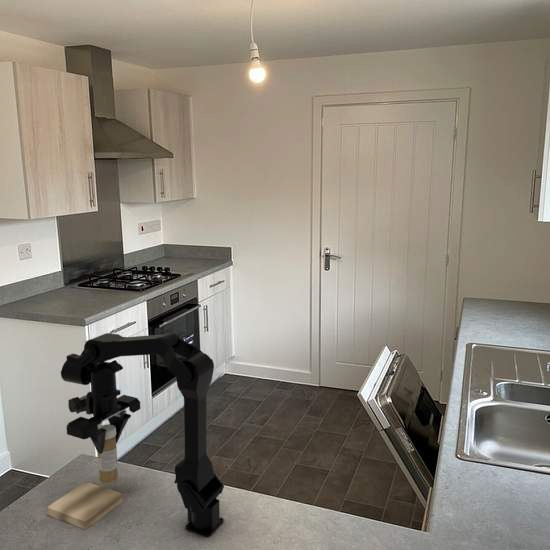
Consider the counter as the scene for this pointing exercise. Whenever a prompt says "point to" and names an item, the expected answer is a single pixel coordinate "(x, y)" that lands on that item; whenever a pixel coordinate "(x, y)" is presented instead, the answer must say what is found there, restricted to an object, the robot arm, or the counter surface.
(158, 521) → the counter surface
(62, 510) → the tan block
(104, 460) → the sprinkles bottle
